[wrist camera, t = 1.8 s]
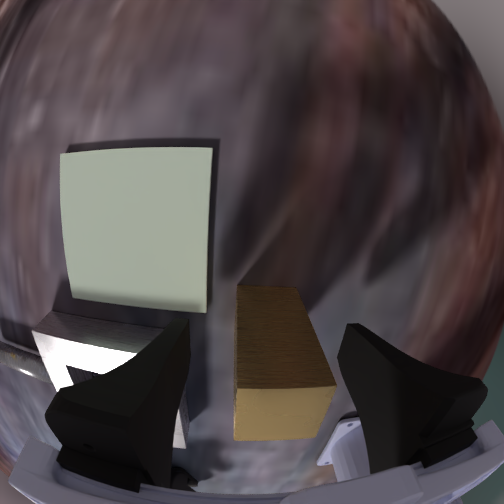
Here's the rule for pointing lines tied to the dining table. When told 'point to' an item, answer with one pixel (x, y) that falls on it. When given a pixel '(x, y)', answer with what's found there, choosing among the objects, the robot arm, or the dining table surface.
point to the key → (277, 367)
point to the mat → (137, 225)
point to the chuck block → (85, 354)
